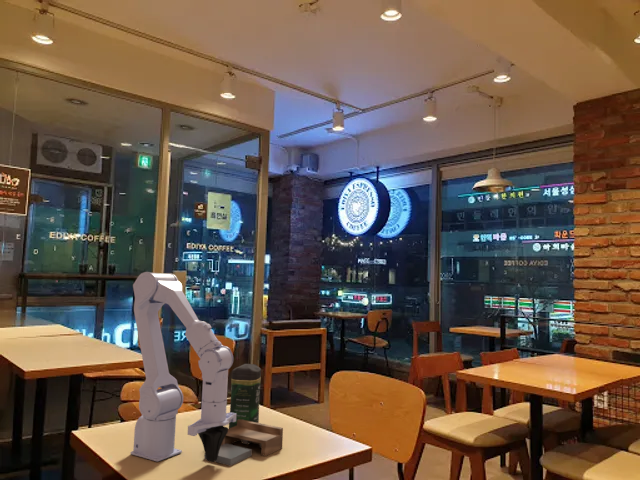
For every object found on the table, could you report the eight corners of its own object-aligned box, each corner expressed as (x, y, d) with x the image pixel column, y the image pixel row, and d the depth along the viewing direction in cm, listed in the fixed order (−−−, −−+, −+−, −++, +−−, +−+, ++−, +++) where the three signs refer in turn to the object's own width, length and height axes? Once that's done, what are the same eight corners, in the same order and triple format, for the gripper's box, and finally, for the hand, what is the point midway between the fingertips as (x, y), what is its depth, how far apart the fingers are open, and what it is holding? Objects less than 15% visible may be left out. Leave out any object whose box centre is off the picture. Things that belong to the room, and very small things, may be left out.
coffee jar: (253, 437, 135) (256, 368, 137) (225, 435, 136) (228, 366, 138) (261, 427, 145) (264, 362, 147) (235, 425, 146) (238, 361, 147)
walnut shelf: (220, 445, 127) (221, 425, 128) (239, 438, 134) (239, 419, 134) (265, 456, 121) (266, 435, 121) (282, 447, 127) (282, 427, 128)
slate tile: (204, 461, 118) (204, 452, 118) (225, 451, 125) (226, 443, 125) (230, 467, 114) (231, 459, 114) (251, 457, 121) (251, 449, 121)
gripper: (205, 408, 107) (202, 473, 106) (247, 396, 120) (244, 454, 118) (182, 404, 110) (178, 467, 109) (224, 392, 123) (222, 449, 122)
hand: (211, 460), depth 114 cm, fingers closed
